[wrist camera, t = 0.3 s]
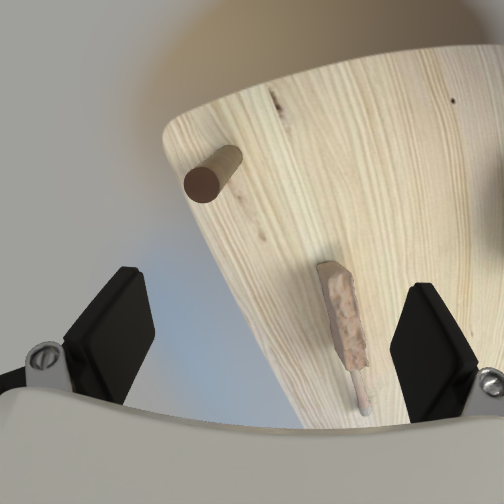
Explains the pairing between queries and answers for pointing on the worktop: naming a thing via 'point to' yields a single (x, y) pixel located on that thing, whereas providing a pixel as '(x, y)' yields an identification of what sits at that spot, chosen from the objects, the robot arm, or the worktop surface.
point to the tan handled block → (346, 325)
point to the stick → (212, 174)
